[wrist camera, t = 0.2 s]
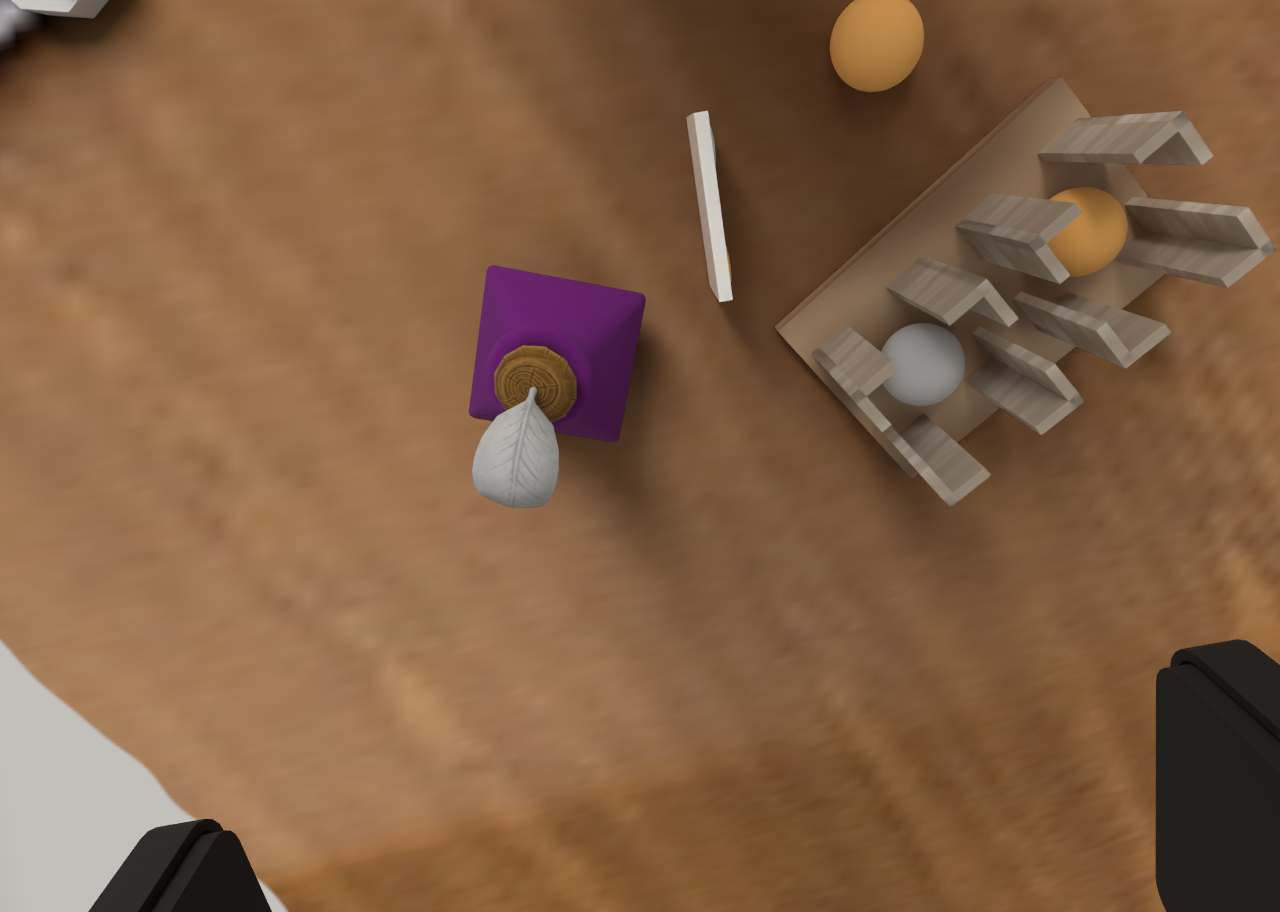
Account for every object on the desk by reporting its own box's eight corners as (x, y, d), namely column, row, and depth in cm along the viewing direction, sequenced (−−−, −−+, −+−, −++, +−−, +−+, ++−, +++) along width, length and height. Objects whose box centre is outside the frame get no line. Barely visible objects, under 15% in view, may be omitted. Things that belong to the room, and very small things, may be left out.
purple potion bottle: (497, 256, 42) (409, 326, 25) (645, 284, 43) (655, 371, 26) (479, 398, 45) (387, 548, 28) (618, 423, 45) (612, 586, 28)
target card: (709, 285, 43) (719, 302, 38) (686, 117, 40) (693, 113, 36) (724, 283, 43) (736, 299, 38) (701, 114, 40) (711, 109, 36)
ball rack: (774, 327, 44) (809, 370, 35) (1049, 78, 40) (1166, 58, 31) (905, 471, 47) (967, 544, 38) (1174, 251, 43) (1312, 277, 34)
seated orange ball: (998, 227, 41) (1036, 235, 37) (1068, 166, 40) (1113, 168, 36) (1045, 288, 42) (1087, 301, 38) (1114, 230, 41) (1163, 238, 37)
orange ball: (803, 46, 39) (822, 35, 36) (871, -22, 38) (898, -40, 35) (857, 113, 40) (881, 109, 37) (925, 49, 39) (956, 38, 36)
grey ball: (852, 354, 43) (874, 373, 39) (916, 299, 42) (944, 313, 38) (901, 409, 44) (926, 433, 40) (963, 356, 43) (996, 376, 39)
